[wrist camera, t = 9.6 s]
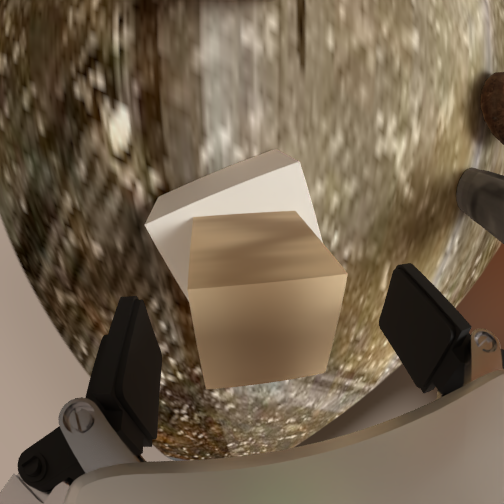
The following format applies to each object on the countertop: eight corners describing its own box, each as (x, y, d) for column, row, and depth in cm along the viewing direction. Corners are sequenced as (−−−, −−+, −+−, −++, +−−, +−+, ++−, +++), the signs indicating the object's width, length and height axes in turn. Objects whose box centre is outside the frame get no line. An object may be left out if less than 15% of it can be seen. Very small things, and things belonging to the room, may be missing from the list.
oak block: (295, 210, 14) (347, 273, 9) (289, 293, 16) (324, 372, 11) (193, 217, 13) (187, 289, 8) (202, 301, 16) (206, 389, 11)
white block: (275, 148, 17) (299, 161, 13) (307, 250, 21) (333, 288, 17) (158, 195, 18) (144, 224, 13) (208, 290, 21) (211, 336, 17)
